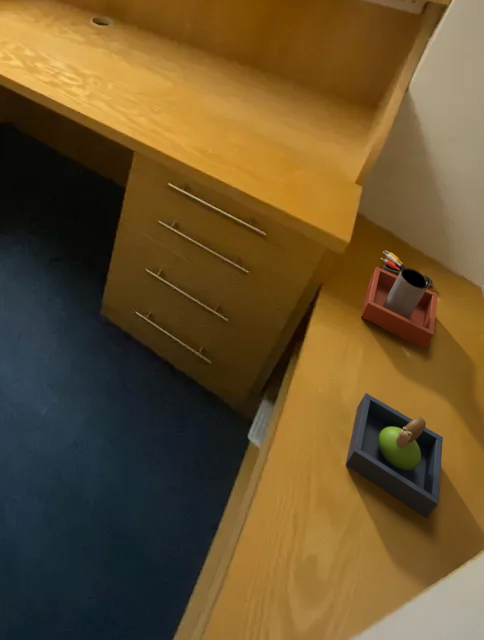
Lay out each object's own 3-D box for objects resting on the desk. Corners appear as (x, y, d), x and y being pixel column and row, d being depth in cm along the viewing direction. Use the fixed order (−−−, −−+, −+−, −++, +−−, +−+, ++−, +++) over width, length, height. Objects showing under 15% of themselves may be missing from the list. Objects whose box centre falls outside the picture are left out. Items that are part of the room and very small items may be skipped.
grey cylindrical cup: (409, 308, 102) (428, 275, 97) (409, 326, 99) (429, 292, 94) (383, 297, 104) (401, 264, 99) (382, 314, 101) (400, 280, 96)
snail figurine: (362, 452, 81) (387, 413, 75) (385, 429, 83) (411, 390, 78) (397, 488, 77) (427, 450, 71) (420, 464, 79) (451, 425, 73)
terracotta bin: (369, 280, 108) (376, 266, 106) (429, 308, 103) (437, 294, 100) (360, 317, 101) (368, 302, 99) (424, 349, 96) (433, 335, 93)
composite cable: (433, 282, 108) (437, 275, 107) (426, 296, 105) (431, 288, 104) (381, 254, 114) (385, 246, 113) (374, 266, 112) (378, 258, 110)
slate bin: (357, 406, 87) (365, 392, 85) (431, 451, 81) (443, 437, 79) (345, 465, 80) (354, 451, 78) (426, 518, 74) (438, 504, 72)
